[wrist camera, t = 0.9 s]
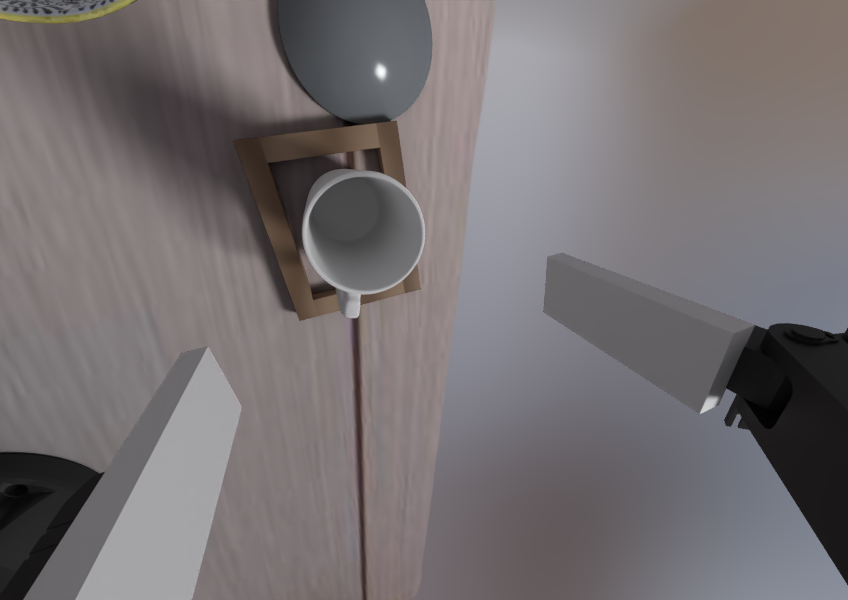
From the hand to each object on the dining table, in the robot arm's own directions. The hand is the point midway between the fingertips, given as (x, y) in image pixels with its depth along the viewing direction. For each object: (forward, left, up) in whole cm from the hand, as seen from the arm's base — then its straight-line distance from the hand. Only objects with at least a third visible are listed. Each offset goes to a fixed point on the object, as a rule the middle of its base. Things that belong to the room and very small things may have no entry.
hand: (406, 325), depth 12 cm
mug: (-1, 0, -19) cm, 19 cm away
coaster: (+4, +13, -19) cm, 23 cm away
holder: (-1, 0, -19) cm, 19 cm away
